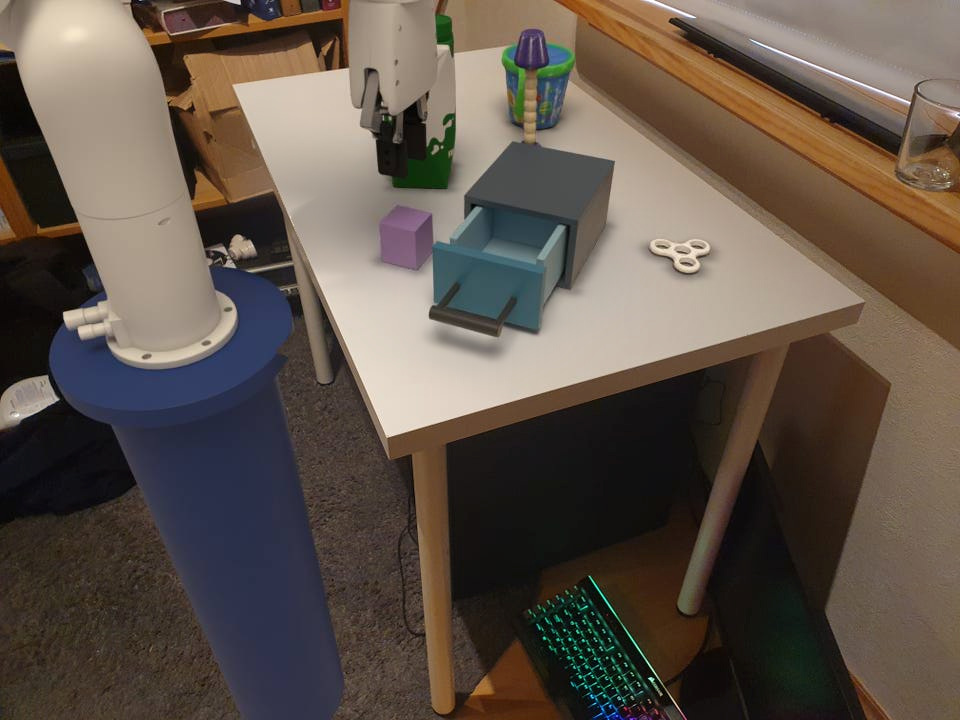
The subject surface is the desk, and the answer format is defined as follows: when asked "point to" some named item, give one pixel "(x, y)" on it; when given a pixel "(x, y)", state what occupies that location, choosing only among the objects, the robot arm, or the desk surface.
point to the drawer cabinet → (550, 194)
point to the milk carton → (437, 118)
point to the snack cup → (539, 85)
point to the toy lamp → (531, 75)
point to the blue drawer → (497, 270)
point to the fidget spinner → (680, 258)
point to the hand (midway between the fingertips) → (403, 164)
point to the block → (406, 237)
